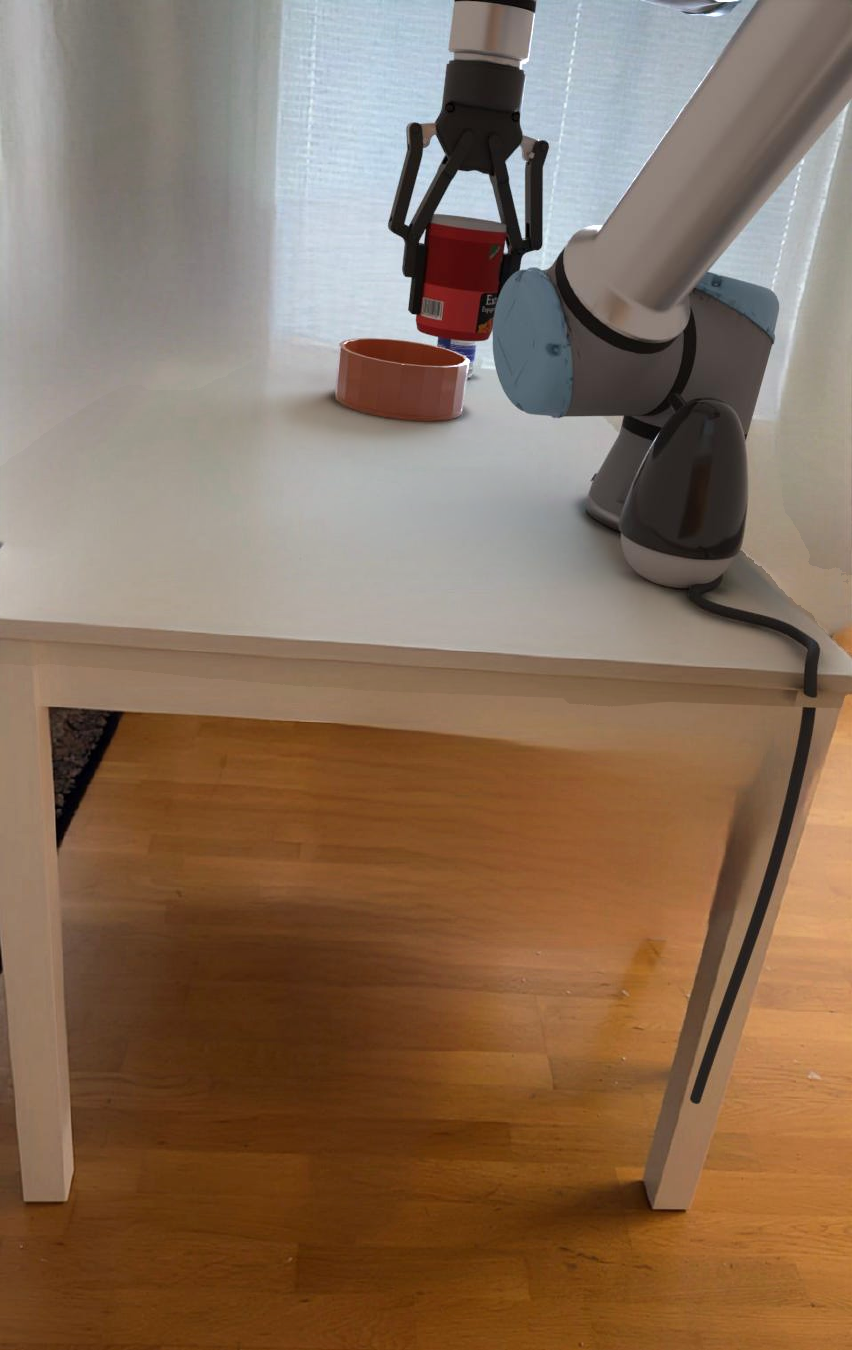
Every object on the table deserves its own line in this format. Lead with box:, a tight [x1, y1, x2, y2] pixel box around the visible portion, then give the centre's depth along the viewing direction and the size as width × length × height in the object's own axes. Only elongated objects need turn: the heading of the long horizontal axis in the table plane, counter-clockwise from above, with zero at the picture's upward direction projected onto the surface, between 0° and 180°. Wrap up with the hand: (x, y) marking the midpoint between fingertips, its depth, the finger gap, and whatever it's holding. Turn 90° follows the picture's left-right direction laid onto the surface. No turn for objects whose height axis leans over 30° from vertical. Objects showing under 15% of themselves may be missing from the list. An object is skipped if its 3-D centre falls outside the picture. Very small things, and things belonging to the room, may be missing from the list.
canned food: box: [415, 213, 507, 342], centre depth 107 cm, size 8×8×11 cm
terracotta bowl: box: [334, 337, 470, 422], centre depth 134 cm, size 16×16×6 cm
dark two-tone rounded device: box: [618, 393, 749, 589], centre depth 87 cm, size 10×10×15 cm
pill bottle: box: [436, 337, 478, 379], centre depth 155 cm, size 6×6×10 cm
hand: (455, 316), depth 109 cm, fingers closed on canned food, 8 cm apart
